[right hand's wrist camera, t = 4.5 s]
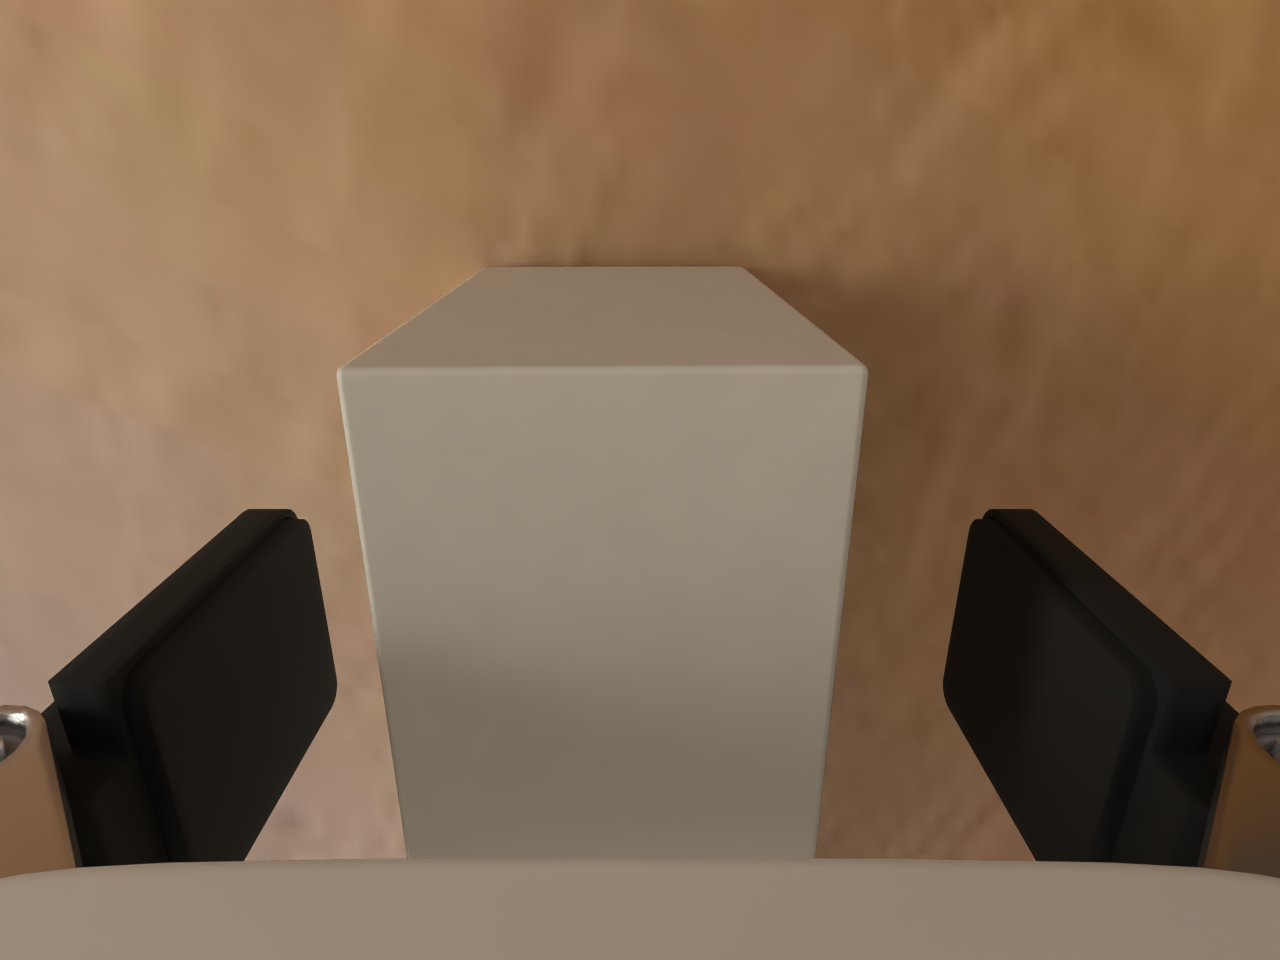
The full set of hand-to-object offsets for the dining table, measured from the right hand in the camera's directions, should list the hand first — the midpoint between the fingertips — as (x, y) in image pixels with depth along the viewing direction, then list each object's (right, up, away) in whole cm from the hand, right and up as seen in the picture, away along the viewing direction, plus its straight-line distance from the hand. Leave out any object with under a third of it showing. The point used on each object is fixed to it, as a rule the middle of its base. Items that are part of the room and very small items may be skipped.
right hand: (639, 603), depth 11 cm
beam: (0, -20, +13) cm, 24 cm away
